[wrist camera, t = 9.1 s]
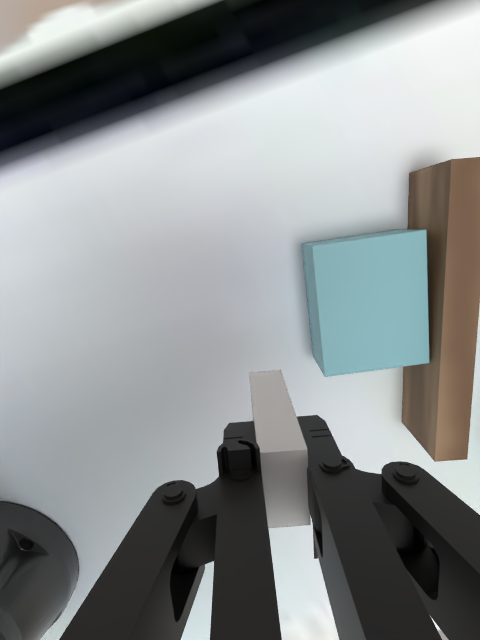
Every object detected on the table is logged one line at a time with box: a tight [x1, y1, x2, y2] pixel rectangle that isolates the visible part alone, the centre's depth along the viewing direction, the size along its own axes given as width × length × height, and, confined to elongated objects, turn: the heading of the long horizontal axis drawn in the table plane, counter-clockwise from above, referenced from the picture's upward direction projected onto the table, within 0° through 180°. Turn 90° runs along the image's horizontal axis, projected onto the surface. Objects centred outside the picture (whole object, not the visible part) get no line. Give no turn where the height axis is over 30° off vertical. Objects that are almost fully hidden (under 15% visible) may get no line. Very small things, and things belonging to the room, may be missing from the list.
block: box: [302, 230, 429, 377], centre depth 30 cm, size 8×10×5 cm
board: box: [402, 157, 480, 461], centre depth 29 cm, size 2×22×6 cm, turn 4°
